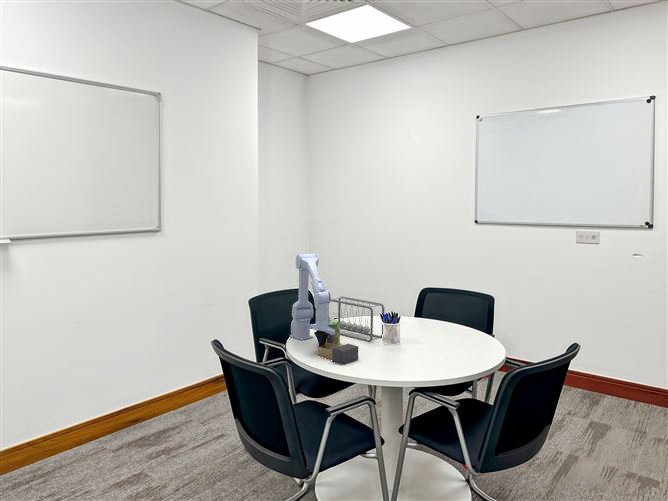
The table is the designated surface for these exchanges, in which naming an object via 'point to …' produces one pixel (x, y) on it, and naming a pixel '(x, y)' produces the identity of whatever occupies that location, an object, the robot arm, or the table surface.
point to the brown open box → (326, 350)
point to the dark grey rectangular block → (345, 354)
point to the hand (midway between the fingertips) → (321, 347)
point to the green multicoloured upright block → (336, 337)
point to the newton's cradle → (355, 327)
